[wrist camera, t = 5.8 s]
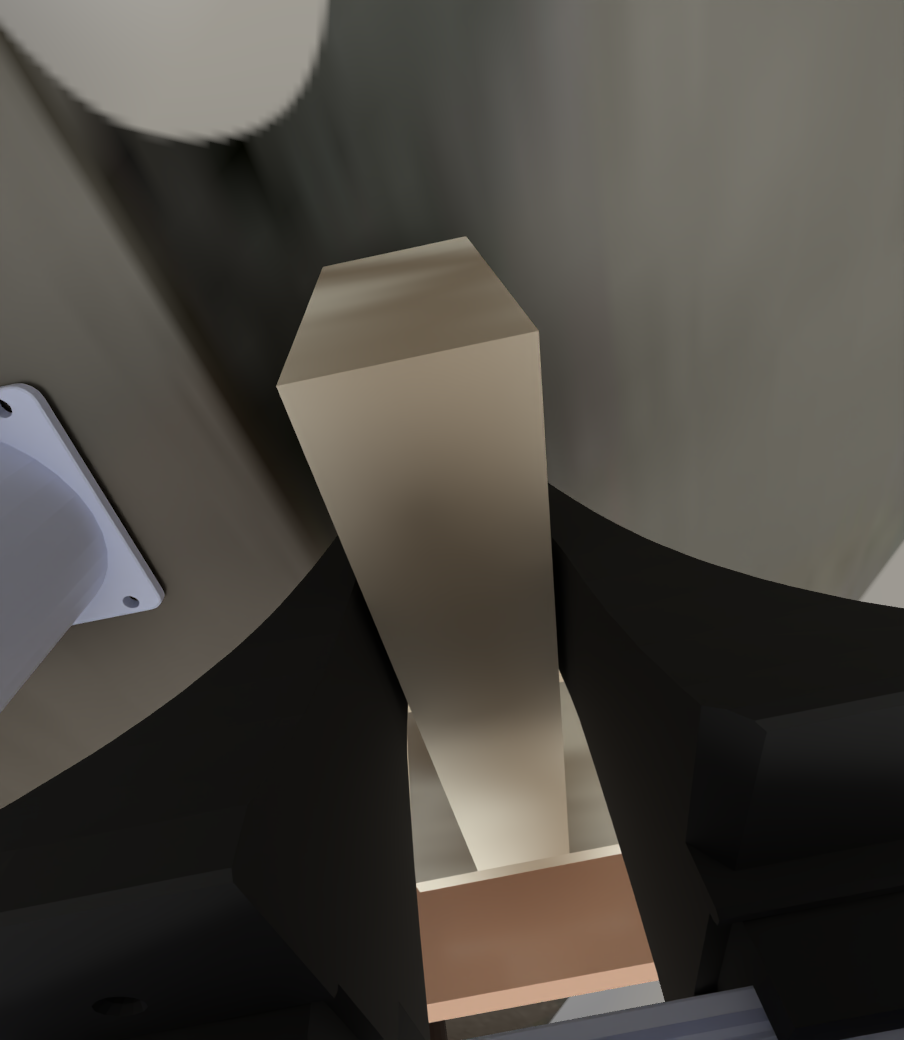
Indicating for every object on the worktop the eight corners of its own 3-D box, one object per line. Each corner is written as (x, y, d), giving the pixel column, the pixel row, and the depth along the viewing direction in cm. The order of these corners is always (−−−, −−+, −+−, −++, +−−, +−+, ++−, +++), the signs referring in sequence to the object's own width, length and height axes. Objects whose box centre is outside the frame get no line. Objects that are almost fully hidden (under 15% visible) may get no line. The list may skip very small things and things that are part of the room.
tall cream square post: (411, 724, 18) (420, 892, 14) (223, 288, 9) (95, 424, 5) (577, 691, 18) (632, 851, 14) (567, 215, 9) (725, 292, 5)
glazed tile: (418, 742, 22) (429, 1024, 14) (411, 720, 21) (417, 1006, 13) (576, 712, 22) (673, 979, 14) (574, 688, 21) (675, 958, 13)
